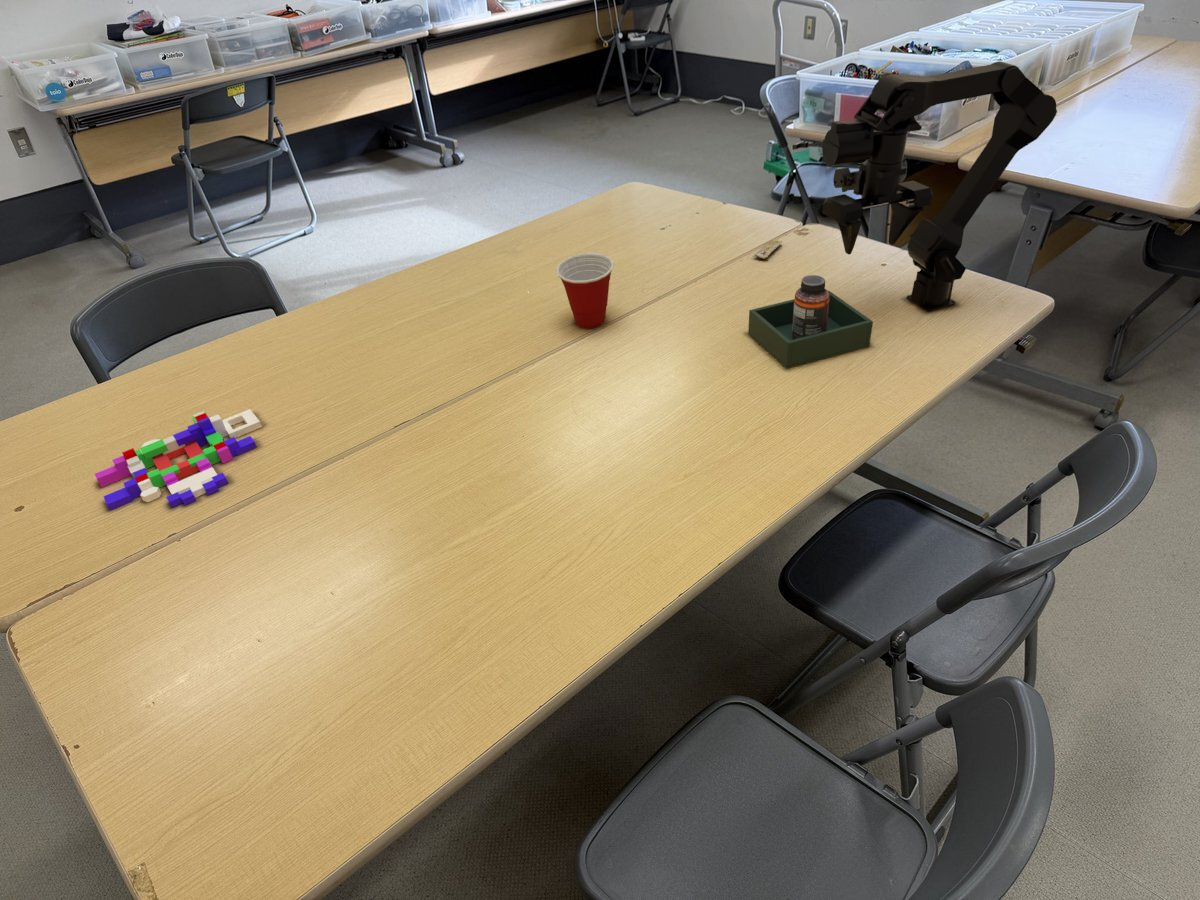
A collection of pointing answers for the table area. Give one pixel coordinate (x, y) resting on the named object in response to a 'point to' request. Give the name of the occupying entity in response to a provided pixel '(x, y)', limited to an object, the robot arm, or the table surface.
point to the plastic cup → (587, 287)
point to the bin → (840, 337)
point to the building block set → (170, 474)
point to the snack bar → (768, 249)
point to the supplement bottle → (810, 307)
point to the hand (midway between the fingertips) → (869, 248)
